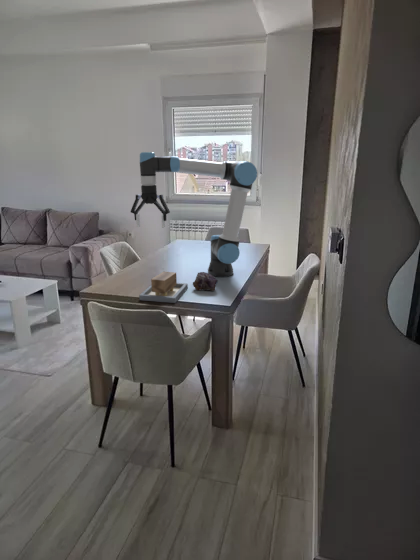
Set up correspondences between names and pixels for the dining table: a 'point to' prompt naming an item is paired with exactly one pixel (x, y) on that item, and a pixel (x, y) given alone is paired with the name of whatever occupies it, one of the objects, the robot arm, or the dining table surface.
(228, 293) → the dining table surface
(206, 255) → the dining table surface
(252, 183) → the robot arm
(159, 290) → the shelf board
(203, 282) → the rock
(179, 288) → the grey shallow tray
